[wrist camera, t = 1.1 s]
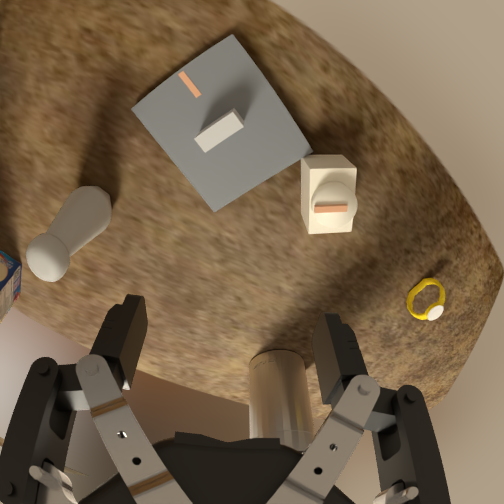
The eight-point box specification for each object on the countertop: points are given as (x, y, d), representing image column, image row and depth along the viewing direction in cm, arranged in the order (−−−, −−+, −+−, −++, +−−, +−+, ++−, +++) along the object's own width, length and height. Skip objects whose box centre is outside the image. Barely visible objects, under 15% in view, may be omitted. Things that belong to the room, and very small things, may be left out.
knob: (341, 154, 30) (362, 173, 24) (339, 210, 33) (356, 239, 28) (300, 155, 30) (313, 174, 24) (300, 212, 33) (311, 242, 28)
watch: (427, 268, 39) (448, 292, 33) (435, 277, 40) (455, 301, 34) (398, 296, 41) (416, 323, 36) (407, 304, 42) (424, 330, 37)
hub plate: (311, 148, 29) (321, 161, 26) (215, 207, 33) (211, 228, 29) (233, 35, 23) (230, 28, 19) (135, 107, 27) (117, 113, 23)
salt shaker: (72, 211, 32) (15, 275, 22) (82, 171, 30) (16, 226, 19) (111, 231, 34) (64, 302, 23) (124, 191, 32) (71, 256, 21)
